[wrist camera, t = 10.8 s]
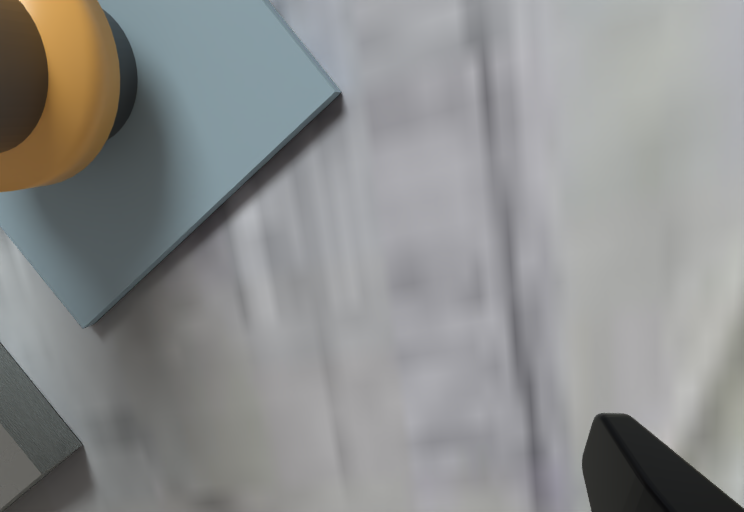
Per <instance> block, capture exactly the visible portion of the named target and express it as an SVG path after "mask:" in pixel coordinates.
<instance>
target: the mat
mask: <svg viewBox="0 0 744 512" xmlns="http://www.w3.org/2000/svg"><path fill="white" fill-rule="evenodd" d="M97 1H98V2H99V4H100V6H101V8H102V9H104V10H105V11H106V12H107V13H108V14H110V15H111V16H112V17H113V18H114V20H115V21H116V22H117V23H118V24H119V26H120V27H121V28H122V30H123V31H124V33H125V35H126V37H127V38H128V40H129V43H130V45H131V48H132V50H133V54H134V57H135V61H136V67H137V77H138V83H137V94H136V99H135V103H134V107H133V109H132V112H131V114H130V116H129V118H128V120H127V121H126V123H125V124H124V126H123V127H122V128H121V129H120V130H119V131H118V132H117V133H116V134H115V135H114V136H113V137H111V138H110V139H108V140H106V142H105V144H104V146H103V147H102V149H101V151H100V152H99V153H98V155H97V156H96V157H95V158H94V160H93V161H92V162H91V163H90V164H89V165H88V166H86V167H85V168H84V169H83V170H82V171H80V172H79V173H77V174H76V175H75V176H73V177H71V178H69V179H67V180H65V181H62V182H59V183H56V184H52V185H47V186H41V187H34V188H28V189H22V190H15V191H8V192H0V227H1V228H2V229H3V230H4V232H5V233H6V234H7V235H8V237H9V238H10V239H11V240H12V241H13V243H14V244H15V245H16V246H17V248H18V249H19V250H20V251H21V253H22V254H23V255H24V256H25V258H26V259H27V260H28V261H29V263H30V264H31V265H32V266H33V268H34V269H35V270H36V271H37V273H38V274H39V275H40V276H41V277H42V279H43V280H44V281H45V282H46V284H47V285H48V286H49V287H50V289H51V290H52V291H53V292H54V294H55V295H56V296H57V297H58V299H59V300H60V301H61V302H62V304H63V305H64V306H65V307H66V309H67V310H68V311H69V312H70V313H71V315H72V316H73V317H74V318H75V320H76V321H77V322H78V323H79V325H80V326H81V327H82V328H83V329H84V328H86V327H88V326H90V325H92V324H94V323H96V322H97V321H98V320H99V319H100V318H101V317H102V316H103V315H104V314H105V313H106V312H107V311H108V310H109V309H111V308H112V307H113V306H114V305H115V304H116V303H117V302H118V301H119V300H120V299H121V298H122V297H123V296H124V295H125V294H127V293H128V292H129V291H130V290H131V289H132V288H133V287H134V286H135V285H136V284H137V283H138V282H139V281H140V280H142V279H143V278H144V277H145V276H146V275H147V274H148V273H149V272H150V271H151V270H152V269H153V268H154V267H155V266H156V265H158V264H159V263H160V262H161V261H162V260H163V259H164V258H165V257H166V256H167V255H168V254H169V253H170V252H171V251H173V250H174V249H175V248H176V247H177V246H178V245H179V244H180V243H181V242H182V241H183V240H184V239H185V238H186V237H187V236H189V235H190V234H191V233H192V232H193V231H194V230H195V229H196V228H197V227H198V226H199V225H200V224H201V223H202V222H204V221H205V220H206V219H207V218H208V217H209V216H210V215H211V214H212V213H213V212H214V211H215V210H216V209H217V208H219V207H220V206H221V205H222V204H223V203H224V202H225V201H226V200H227V199H228V198H229V197H230V196H231V195H232V194H233V193H235V192H236V191H237V190H238V189H239V188H240V187H241V186H242V185H243V184H244V183H245V182H246V181H247V180H248V179H250V178H251V177H252V176H253V175H254V174H255V173H256V172H257V171H258V170H259V169H260V168H261V167H262V166H263V165H264V164H266V163H267V162H268V161H269V160H270V159H271V158H272V157H273V156H274V155H275V154H276V153H277V152H278V151H279V150H281V149H282V148H283V147H284V146H285V145H286V144H287V143H288V142H289V141H290V140H291V139H292V138H293V137H294V136H295V135H297V134H298V133H299V132H300V131H301V130H302V129H303V128H304V127H305V126H306V125H307V124H308V123H309V122H310V121H312V120H313V119H314V118H315V117H316V116H317V115H318V114H319V113H320V112H321V111H322V110H323V109H324V108H325V107H326V106H328V105H329V104H330V103H331V102H332V101H333V100H334V99H335V98H336V97H337V96H338V95H339V94H340V93H341V91H340V90H339V88H338V87H337V86H336V85H335V83H334V82H333V81H332V80H331V78H330V77H329V76H328V75H327V73H326V72H325V71H324V70H323V68H322V67H321V66H320V65H319V63H318V62H317V61H316V60H315V58H314V57H313V56H312V55H311V53H310V52H309V51H308V50H307V48H306V47H305V46H304V45H303V43H302V42H301V41H300V40H299V38H298V37H297V36H296V35H295V33H294V32H293V31H292V29H291V28H290V27H289V26H288V24H287V23H286V22H285V21H284V19H283V18H282V17H281V16H280V14H279V13H278V12H277V11H276V9H275V8H274V7H273V6H272V4H271V3H270V2H269V1H268V0H97Z"/></svg>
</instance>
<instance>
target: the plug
mask: <svg viewBox="0 0 744 512" xmlns="http://www.w3.org/2000/svg"><path fill="white" fill-rule="evenodd" d="M137 83H138V77H137V67H136V61H135V57H134V54H133V50H132V48H131V45H130V43H129V40H128V38H127V37H126V35H125V33H124V31H123V30H122V28H121V27H120V26H119V24H118V23H117V22H116V21H115V20H114V18H113V17H112V16H111V15H110V14H108V13H107V12H106V11H105V10H104V9H102V8H101V6H100V4H99V2H98V1H97V0H0V192H8V191H15V190H22V189H28V188H34V187H41V186H47V185H52V184H56V183H59V182H62V181H65V180H67V179H69V178H71V177H73V176H75V175H76V174H77V173H79V172H80V171H82V170H83V169H84V168H85V167H86V166H88V165H89V164H90V163H91V162H92V161H93V160H94V158H95V157H96V156H97V155H98V153H99V152H100V151H101V149H102V147H103V146H104V144H105V142H106V140H108V139H110V138H111V137H113V136H114V135H115V134H116V133H117V132H118V131H119V130H120V129H121V128H122V127H123V126H124V124H125V123H126V121H127V120H128V118H129V116H130V114H131V112H132V109H133V107H134V103H135V99H136V94H137Z"/></svg>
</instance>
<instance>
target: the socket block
mask: <svg viewBox="0 0 744 512" xmlns="http://www.w3.org/2000/svg"><path fill="white" fill-rule="evenodd" d="M81 446H82V444H81V443H80V441H79V440H78V439H77V438H76V436H75V435H74V434H73V433H72V431H71V430H70V429H69V428H68V426H67V425H66V424H65V423H64V421H63V420H62V419H61V418H60V417H59V415H58V414H57V413H56V412H55V410H54V409H53V408H52V407H51V405H50V404H49V403H48V402H47V400H46V399H45V398H44V397H43V395H42V394H41V393H40V392H39V391H38V389H37V388H36V387H35V386H34V384H33V383H32V382H31V381H30V379H29V378H28V377H27V376H26V374H25V373H24V372H23V371H22V369H21V368H20V367H19V366H18V364H17V363H16V362H15V361H14V360H13V358H12V357H11V356H10V355H9V353H8V352H7V351H6V350H5V348H4V347H3V346H2V345H1V343H0V512H2V511H4V510H5V509H6V508H7V507H8V506H10V505H11V504H12V503H13V502H14V501H16V500H17V499H18V498H19V497H20V496H22V495H23V494H24V493H25V492H26V491H28V490H29V489H30V488H31V487H32V486H34V485H35V484H36V483H37V482H38V481H40V480H41V479H42V478H43V477H44V476H46V475H47V474H48V473H49V472H50V471H52V470H53V469H54V468H55V467H56V466H58V465H59V464H60V463H61V462H62V461H64V460H65V459H66V458H67V457H68V456H70V455H71V454H72V453H73V452H75V451H76V450H77V449H78V448H79V447H81Z"/></svg>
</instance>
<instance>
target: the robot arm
mask: <svg viewBox="0 0 744 512" xmlns="http://www.w3.org/2000/svg"><path fill="white" fill-rule="evenodd" d="M582 469H583V475H584V480H585V484H586V489H587V493H588V497H589V502H590V506H591V511H592V512H744V508H743V507H741V506H740V505H739V504H738V503H736V502H735V501H734V500H733V499H732V498H730V497H729V496H728V495H727V494H725V493H724V492H723V491H722V490H720V489H719V488H718V487H717V486H716V485H714V484H713V483H712V482H711V481H709V480H708V479H707V478H706V477H705V476H703V475H702V474H701V473H700V472H698V471H697V470H696V469H695V468H694V467H692V466H691V465H690V464H689V463H687V462H686V461H685V460H684V459H683V458H681V457H680V456H679V455H678V454H676V453H675V452H674V451H673V450H672V449H670V448H669V447H668V446H667V445H665V444H664V443H663V442H662V441H661V440H659V439H658V438H657V437H656V436H654V435H653V434H652V433H651V432H650V431H648V430H647V429H646V428H645V427H643V426H642V425H641V424H640V423H639V422H637V421H636V420H635V419H634V418H632V417H631V416H629V415H627V414H621V413H601V414H598V415H596V417H595V418H594V420H593V423H592V426H591V429H590V433H589V436H588V439H587V443H586V446H585V449H584V453H583V458H582Z"/></svg>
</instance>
